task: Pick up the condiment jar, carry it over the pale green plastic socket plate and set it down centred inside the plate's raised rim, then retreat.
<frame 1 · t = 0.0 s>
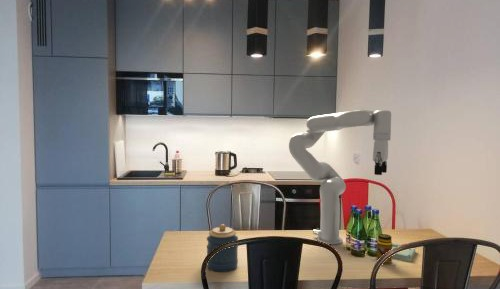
hand: (380, 173, 163), 37 cm above the table, tool pointing down, fingers open, 9 cm apart
condiment: (383, 262, 152), on the table
canister: (222, 266, 146), on the table
socket plate: (396, 253, 162), on the table
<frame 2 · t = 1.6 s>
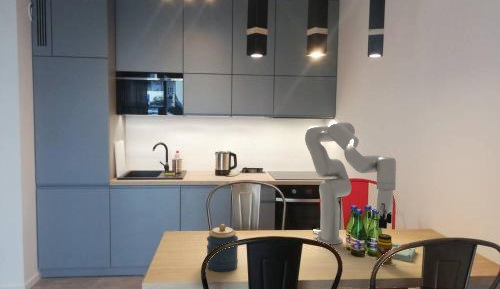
hand: (385, 225, 151), 16 cm above the table, tool pointing down, fingers open, 9 cm apart
nothing on the table moved.
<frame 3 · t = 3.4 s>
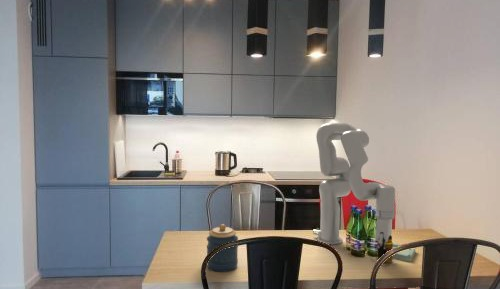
hand: (383, 254, 151), 3 cm above the table, tool pointing down, fingers closed on condiment, 6 cm apart
condiment: (383, 261, 152), on the table, touching gripper
everything else where it was.
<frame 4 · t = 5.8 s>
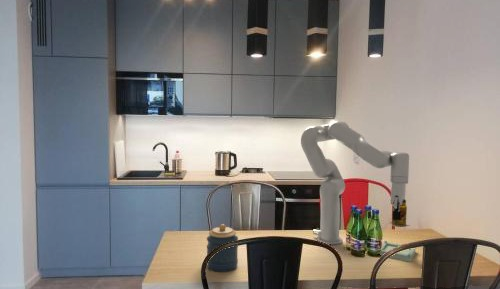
hand: (397, 217, 161), 17 cm above the table, tool pointing down, fingers closed on condiment, 6 cm apart
condiment: (397, 224, 162), point 13 cm above the table, touching gripper
everything else where it was.
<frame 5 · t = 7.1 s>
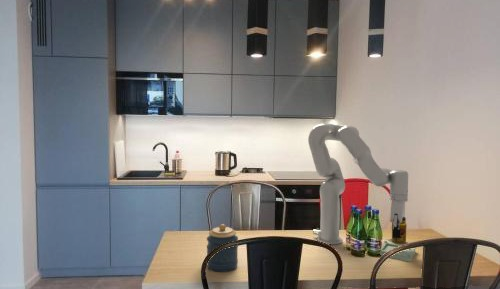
hand: (397, 235, 161), 9 cm above the table, tool pointing down, fingers closed on condiment, 6 cm apart
condiment: (397, 242, 162), point 5 cm above the table, touching gripper
everything else where it was.
when the fingers open (5 cm above the table, at t = 8.4 s): condiment stays where it is, resting on socket plate.
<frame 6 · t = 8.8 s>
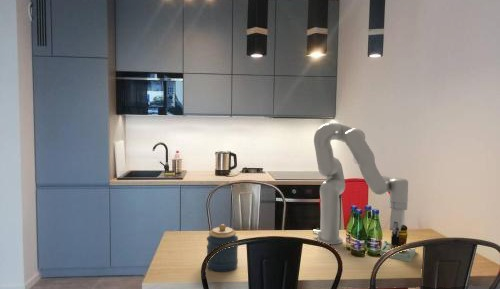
hand: (397, 241, 162), 6 cm above the table, tool pointing down, fingers open, 9 cm apart
condiment: (396, 249, 163), point 2 cm above the table, touching socket plate
everything else where it was.
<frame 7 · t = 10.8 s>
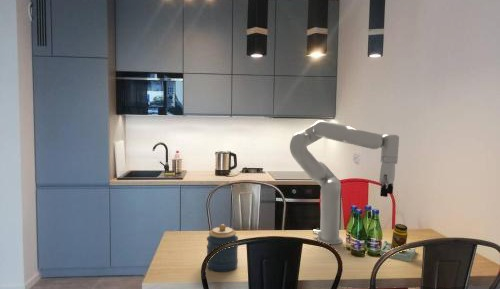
hand: (386, 194, 169), 26 cm above the table, tool pointing down, fingers open, 9 cm apart
nothing on the table moved.
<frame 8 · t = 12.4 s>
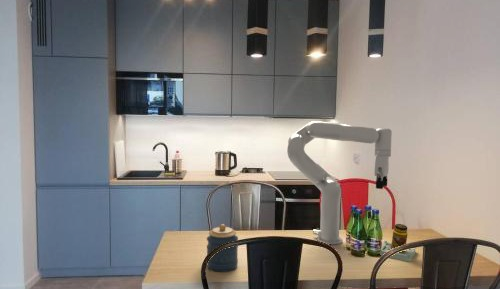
hand: (381, 187, 175), 28 cm above the table, tool pointing down, fingers open, 9 cm apart
nothing on the table moved.
at the end: condiment 0.7 cm off-centre on the socket plate, point 1.6 cm above the socket plate's base; condiment tilted 8°; the gripper is holding nothing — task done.
